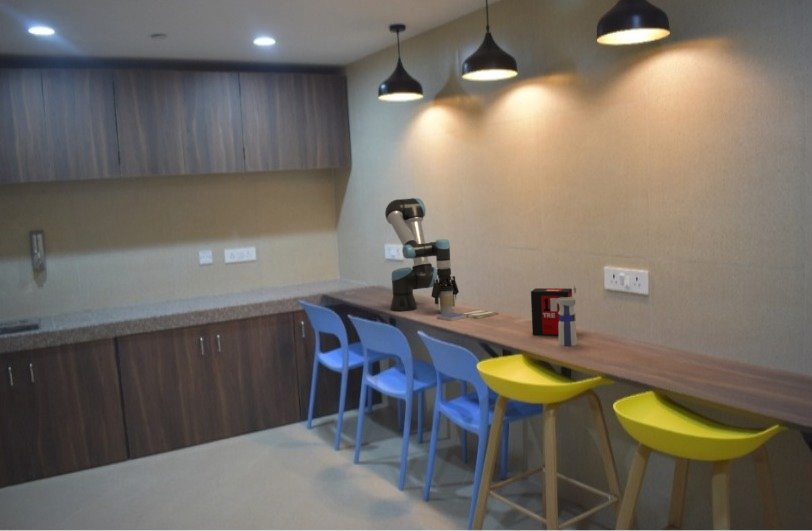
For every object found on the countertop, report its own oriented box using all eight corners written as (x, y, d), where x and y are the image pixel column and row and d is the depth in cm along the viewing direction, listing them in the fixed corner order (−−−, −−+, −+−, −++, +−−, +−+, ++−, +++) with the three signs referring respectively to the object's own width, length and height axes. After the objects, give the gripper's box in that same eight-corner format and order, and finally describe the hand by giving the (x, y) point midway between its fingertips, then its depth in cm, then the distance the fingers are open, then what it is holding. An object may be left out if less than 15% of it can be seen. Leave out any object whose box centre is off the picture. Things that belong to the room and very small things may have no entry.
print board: (458, 315, 368) (458, 313, 368) (478, 311, 377) (478, 309, 377) (478, 318, 356) (478, 316, 356) (498, 314, 365) (498, 311, 365)
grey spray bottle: (578, 341, 295) (575, 283, 292) (578, 346, 286) (576, 286, 284) (558, 341, 297) (556, 284, 294) (558, 346, 288) (555, 287, 285)
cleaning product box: (532, 335, 312) (530, 291, 309) (537, 331, 320) (535, 288, 317) (569, 336, 305) (567, 291, 303) (573, 332, 313) (571, 288, 311)
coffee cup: (453, 315, 371) (452, 287, 369) (436, 315, 373) (434, 288, 371) (456, 311, 380) (454, 284, 378) (439, 312, 382) (437, 285, 380)
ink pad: (437, 318, 364) (437, 315, 363) (452, 315, 370) (452, 312, 370) (451, 321, 355) (451, 317, 355) (466, 317, 362) (466, 314, 362)
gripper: (432, 271, 363) (434, 312, 366) (464, 265, 378) (466, 305, 380) (423, 270, 369) (425, 310, 372) (454, 265, 384) (456, 304, 386)
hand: (446, 308), depth 376 cm, fingers open, 11 cm apart
